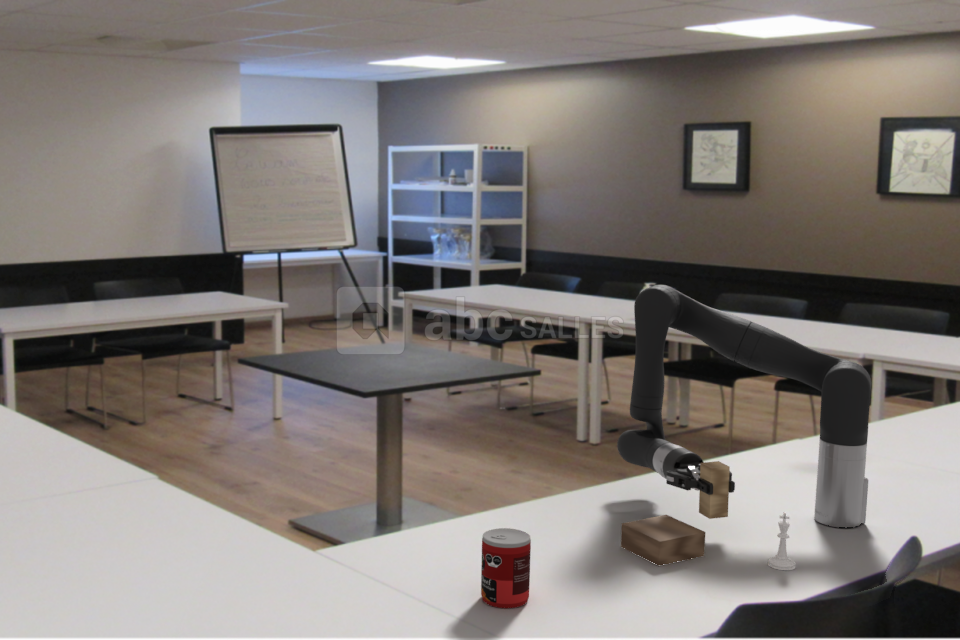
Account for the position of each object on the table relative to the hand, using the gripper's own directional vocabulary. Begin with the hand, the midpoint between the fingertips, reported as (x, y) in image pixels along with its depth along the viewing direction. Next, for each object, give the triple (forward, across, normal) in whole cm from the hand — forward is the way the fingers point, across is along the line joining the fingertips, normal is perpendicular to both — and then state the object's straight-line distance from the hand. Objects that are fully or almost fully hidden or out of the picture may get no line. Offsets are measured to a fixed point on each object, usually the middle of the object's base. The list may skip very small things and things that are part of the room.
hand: (722, 488), depth 190 cm
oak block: (-3, 0, +6) cm, 7 cm away
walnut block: (0, -12, +11) cm, 17 cm away
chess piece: (+12, +6, +12) cm, 18 cm away
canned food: (+13, -48, +11) cm, 51 cm away
